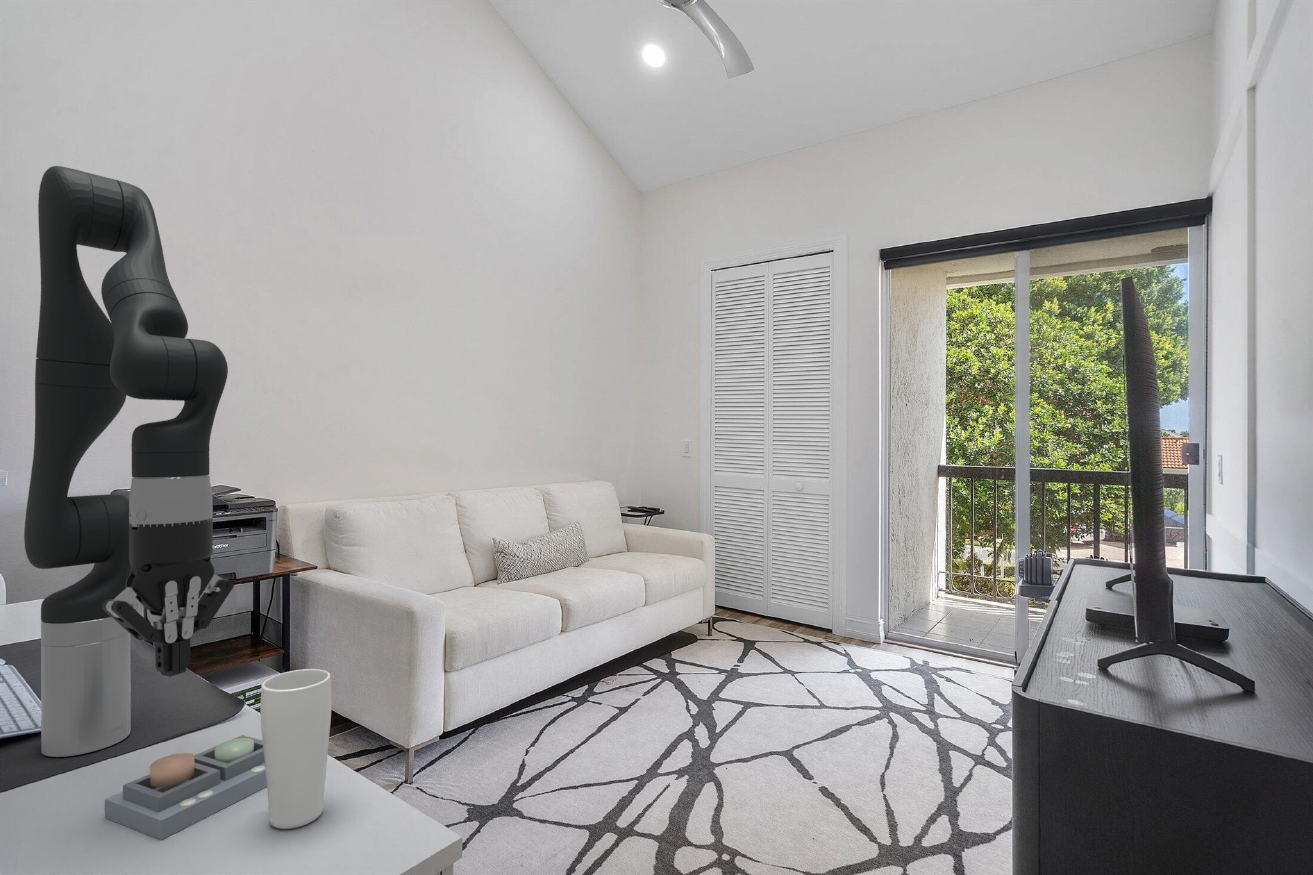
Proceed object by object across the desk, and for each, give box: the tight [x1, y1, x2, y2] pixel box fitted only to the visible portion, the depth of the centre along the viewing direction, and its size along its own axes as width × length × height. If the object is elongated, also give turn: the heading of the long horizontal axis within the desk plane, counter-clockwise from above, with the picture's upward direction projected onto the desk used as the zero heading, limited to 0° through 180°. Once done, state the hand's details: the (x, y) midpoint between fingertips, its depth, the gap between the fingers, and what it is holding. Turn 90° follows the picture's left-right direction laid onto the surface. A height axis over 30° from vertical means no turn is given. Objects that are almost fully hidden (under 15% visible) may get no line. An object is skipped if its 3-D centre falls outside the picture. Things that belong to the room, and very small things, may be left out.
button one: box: [215, 738, 254, 763], centre depth 81 cm, size 4×4×2 cm
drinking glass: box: [260, 668, 332, 830], centre depth 73 cm, size 7×7×15 cm
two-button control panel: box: [104, 735, 267, 841], centre depth 78 cm, size 10×15×4 cm, turn 156°
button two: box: [149, 752, 194, 787], centre depth 75 cm, size 4×4×2 cm
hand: (173, 673), depth 75 cm, fingers closed
